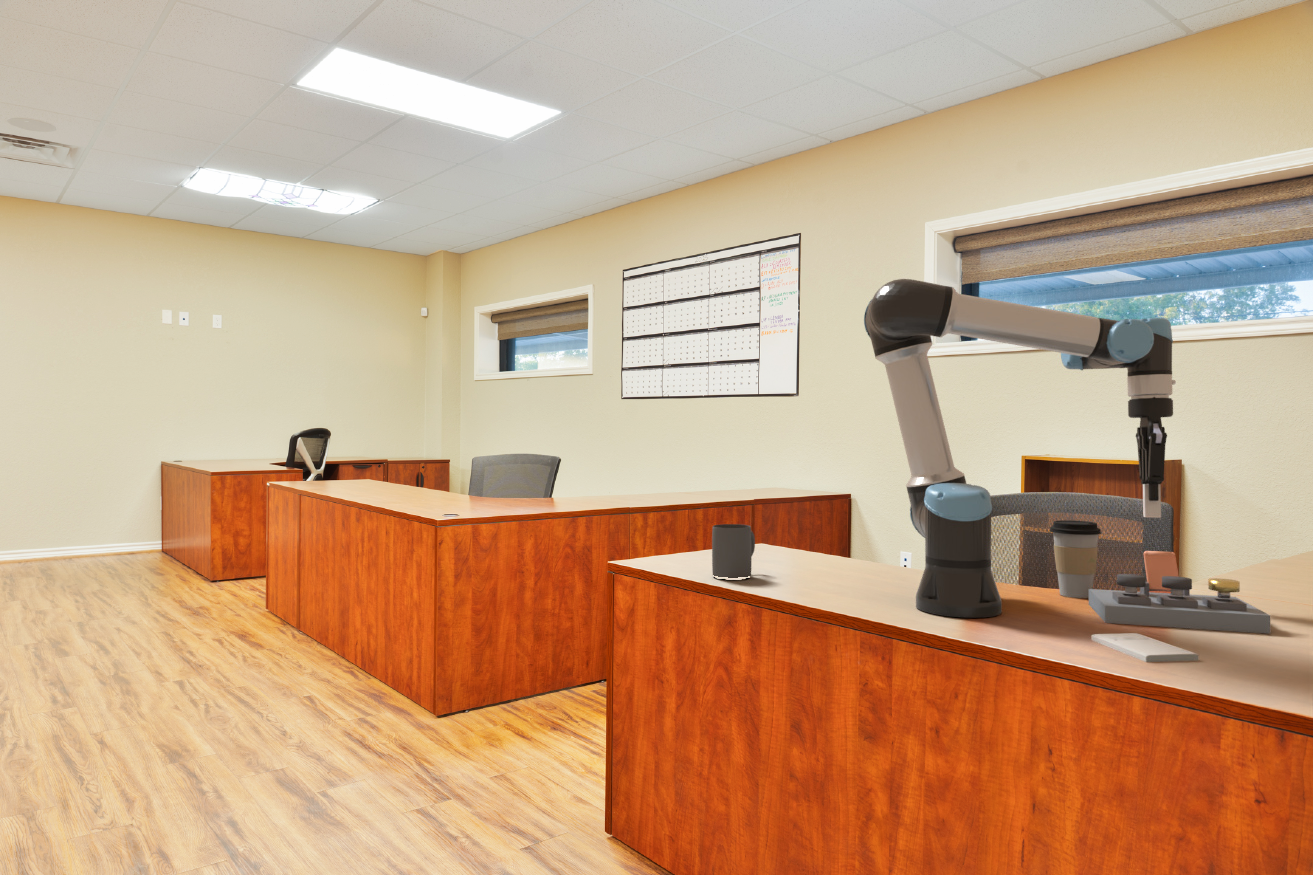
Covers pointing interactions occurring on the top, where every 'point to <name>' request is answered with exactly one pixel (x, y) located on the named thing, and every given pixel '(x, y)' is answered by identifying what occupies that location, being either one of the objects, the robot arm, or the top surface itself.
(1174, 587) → the black button mid
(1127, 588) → the black button left
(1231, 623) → the control panel
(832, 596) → the top surface
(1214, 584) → the brass button
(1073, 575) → the coffee cup
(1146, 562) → the paddle lever
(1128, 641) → the external hard drive
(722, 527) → the mug
